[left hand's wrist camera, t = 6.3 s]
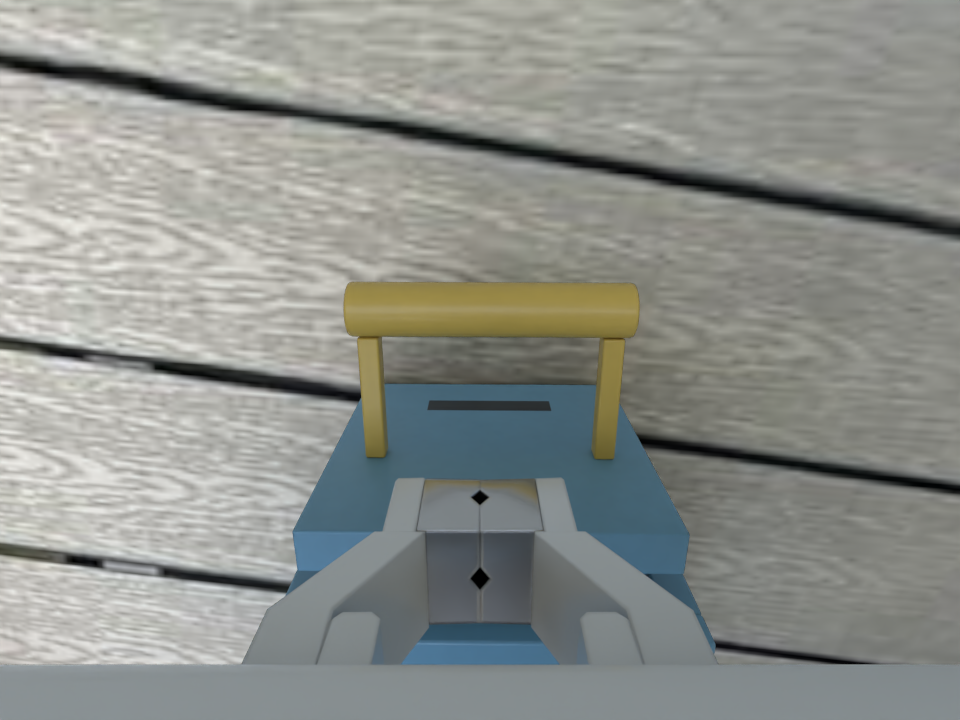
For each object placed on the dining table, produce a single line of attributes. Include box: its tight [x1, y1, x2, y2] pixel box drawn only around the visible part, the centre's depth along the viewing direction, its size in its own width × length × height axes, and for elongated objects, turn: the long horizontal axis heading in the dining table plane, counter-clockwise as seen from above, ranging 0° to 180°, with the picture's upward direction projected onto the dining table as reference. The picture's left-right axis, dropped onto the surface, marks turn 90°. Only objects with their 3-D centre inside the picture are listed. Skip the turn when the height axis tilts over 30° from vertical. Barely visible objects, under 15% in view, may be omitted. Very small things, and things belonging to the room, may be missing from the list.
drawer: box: [293, 282, 690, 574], centre depth 21 cm, size 25×10×9 cm, turn 0°
